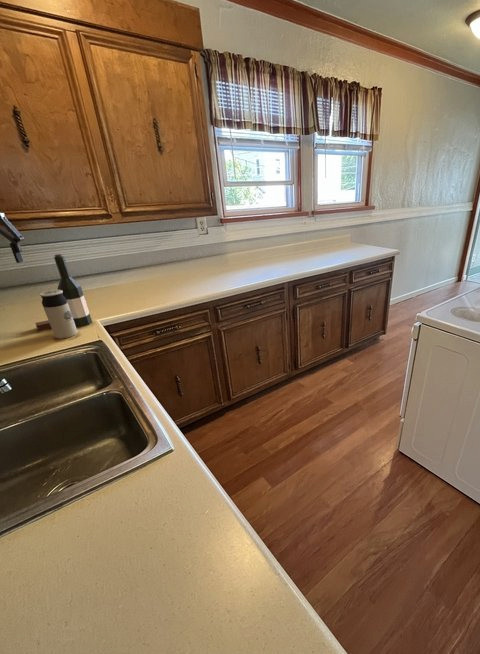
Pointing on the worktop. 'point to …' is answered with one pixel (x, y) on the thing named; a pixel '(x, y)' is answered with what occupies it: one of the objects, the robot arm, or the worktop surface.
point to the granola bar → (43, 325)
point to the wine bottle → (72, 294)
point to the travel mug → (58, 314)
